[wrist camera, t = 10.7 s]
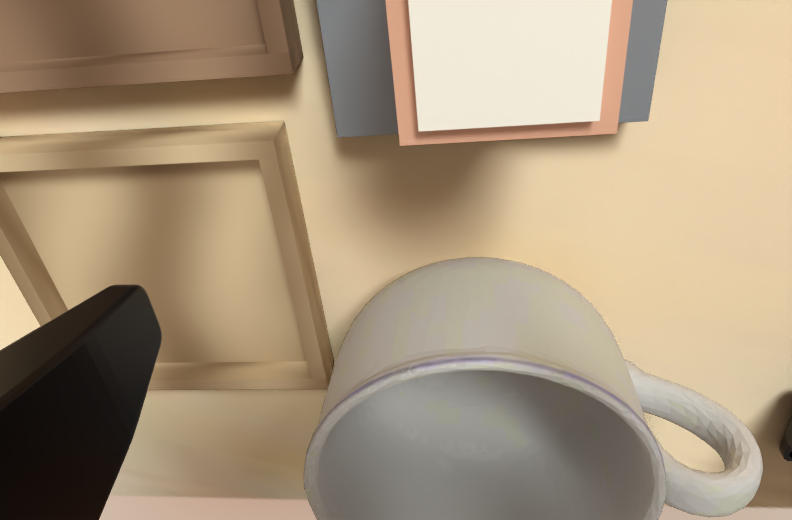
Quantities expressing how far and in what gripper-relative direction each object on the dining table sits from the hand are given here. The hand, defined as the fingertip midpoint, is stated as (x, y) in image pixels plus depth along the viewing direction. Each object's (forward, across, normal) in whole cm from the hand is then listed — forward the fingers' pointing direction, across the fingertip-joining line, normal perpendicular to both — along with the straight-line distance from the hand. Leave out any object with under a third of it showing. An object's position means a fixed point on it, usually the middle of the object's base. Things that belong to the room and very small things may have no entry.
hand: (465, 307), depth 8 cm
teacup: (+12, -2, +12) cm, 17 cm away
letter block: (+10, -1, -2) cm, 11 cm away
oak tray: (+12, +11, +8) cm, 18 cm away
